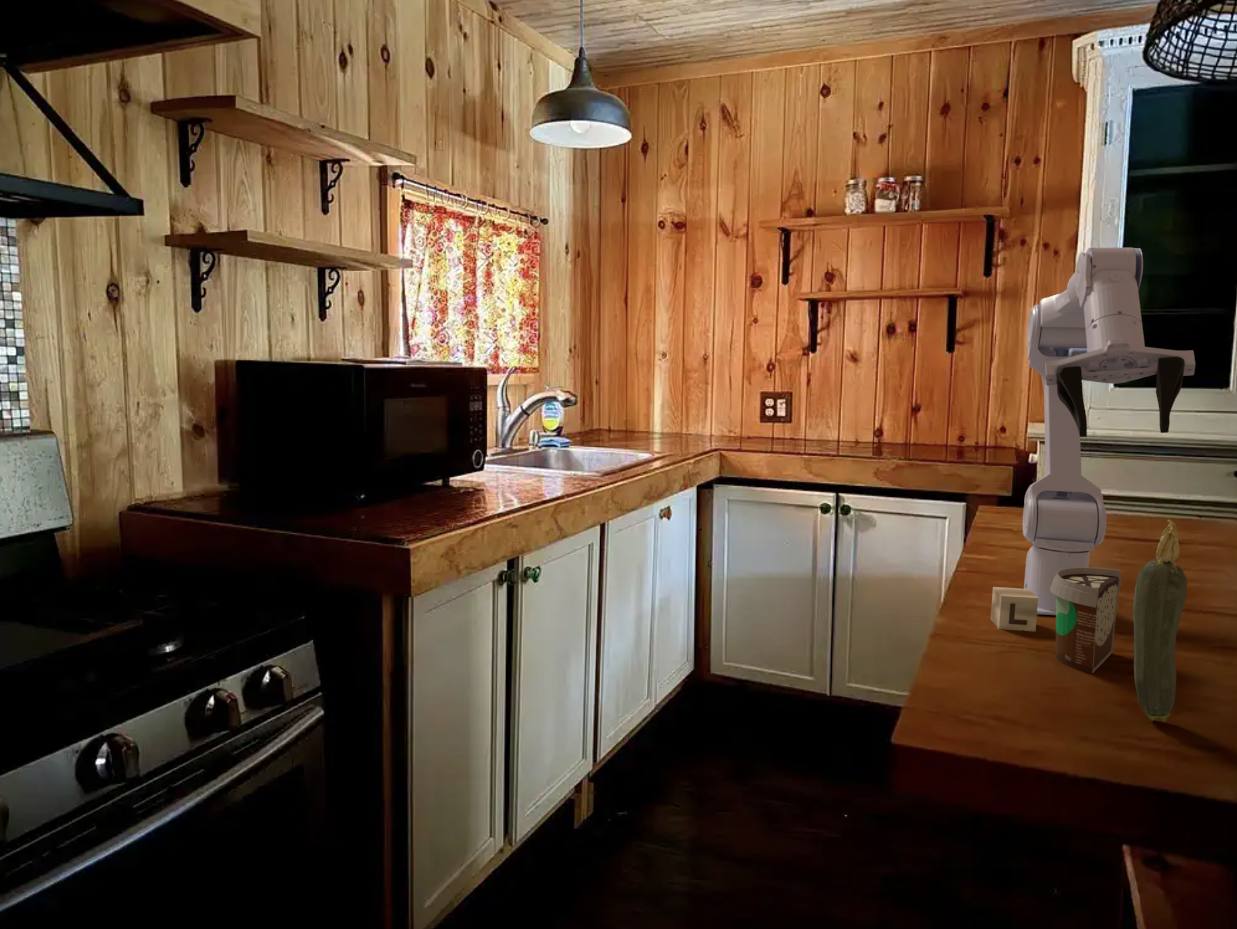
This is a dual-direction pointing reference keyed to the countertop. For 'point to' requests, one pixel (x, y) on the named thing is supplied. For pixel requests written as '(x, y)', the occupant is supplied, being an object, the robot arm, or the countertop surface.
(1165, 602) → the vegetable
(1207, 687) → the countertop surface
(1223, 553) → the countertop surface
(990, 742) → the countertop surface
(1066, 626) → the food container
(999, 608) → the letter cube
